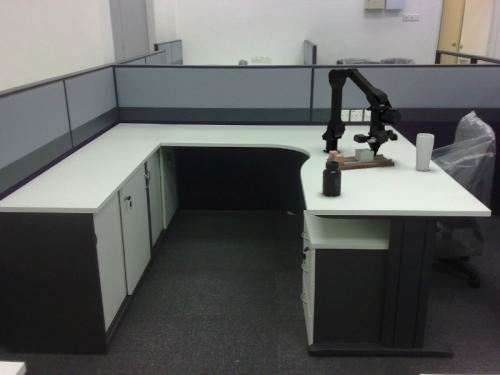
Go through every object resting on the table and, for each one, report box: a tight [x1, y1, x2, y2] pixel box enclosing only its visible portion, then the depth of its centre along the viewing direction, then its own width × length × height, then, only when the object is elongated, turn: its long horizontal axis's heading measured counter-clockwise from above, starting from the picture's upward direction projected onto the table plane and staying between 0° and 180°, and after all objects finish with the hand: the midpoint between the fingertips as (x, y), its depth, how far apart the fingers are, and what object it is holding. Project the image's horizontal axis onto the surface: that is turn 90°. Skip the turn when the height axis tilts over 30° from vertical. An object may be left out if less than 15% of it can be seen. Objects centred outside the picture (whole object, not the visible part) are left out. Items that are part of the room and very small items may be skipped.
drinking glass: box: [415, 133, 435, 172], centre depth 196 cm, size 7×7×15 cm
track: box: [326, 151, 395, 171], centre depth 208 cm, size 14×26×6 cm, turn 102°
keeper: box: [354, 147, 374, 161], centre depth 208 cm, size 6×6×4 cm
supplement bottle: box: [321, 160, 342, 197], centre depth 171 cm, size 7×7×12 cm
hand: (374, 156), depth 209 cm, fingers closed
